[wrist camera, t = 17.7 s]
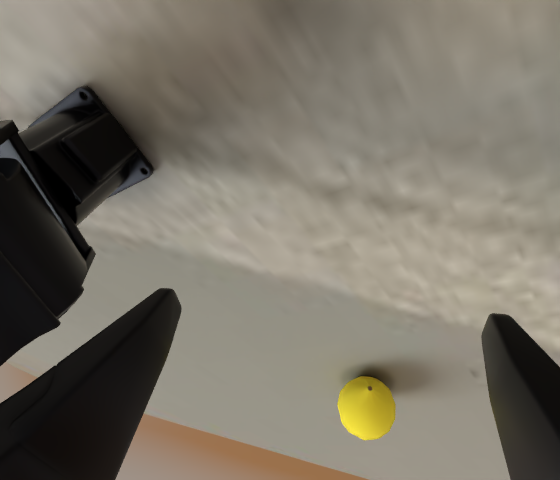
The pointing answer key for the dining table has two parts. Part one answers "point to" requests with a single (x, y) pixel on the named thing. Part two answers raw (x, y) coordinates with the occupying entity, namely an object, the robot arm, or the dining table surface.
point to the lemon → (366, 408)
